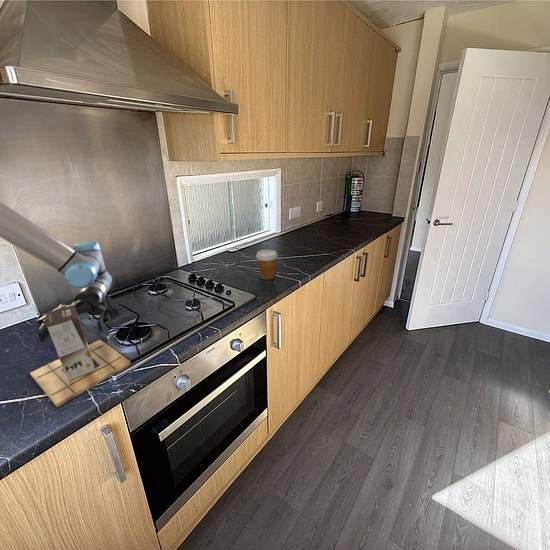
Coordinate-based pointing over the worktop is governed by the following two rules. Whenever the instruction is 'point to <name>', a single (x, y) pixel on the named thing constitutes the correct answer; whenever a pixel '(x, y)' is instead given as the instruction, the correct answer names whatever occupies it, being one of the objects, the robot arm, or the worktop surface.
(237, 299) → the worktop surface
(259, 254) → the disposable coffee cup
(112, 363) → the game board
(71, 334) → the coffee box
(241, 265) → the worktop surface
